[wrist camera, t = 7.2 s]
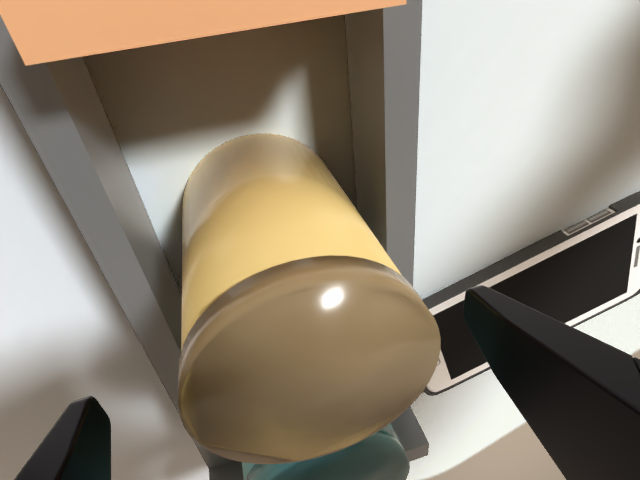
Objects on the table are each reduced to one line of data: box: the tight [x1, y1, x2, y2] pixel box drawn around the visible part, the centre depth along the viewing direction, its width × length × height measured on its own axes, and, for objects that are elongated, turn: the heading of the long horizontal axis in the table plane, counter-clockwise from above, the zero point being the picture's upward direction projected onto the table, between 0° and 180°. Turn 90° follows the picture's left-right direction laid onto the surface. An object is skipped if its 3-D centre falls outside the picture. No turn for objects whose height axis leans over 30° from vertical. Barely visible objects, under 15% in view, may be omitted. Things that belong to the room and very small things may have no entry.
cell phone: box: [422, 191, 640, 396], centre depth 23 cm, size 8×15×1 cm, turn 112°
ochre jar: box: [178, 134, 441, 464], centre depth 12 cm, size 6×6×8 cm
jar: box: [242, 423, 410, 480], centre depth 17 cm, size 6×6×7 cm
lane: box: [0, 0, 429, 480], centre depth 14 cm, size 10×21×5 cm, turn 6°
